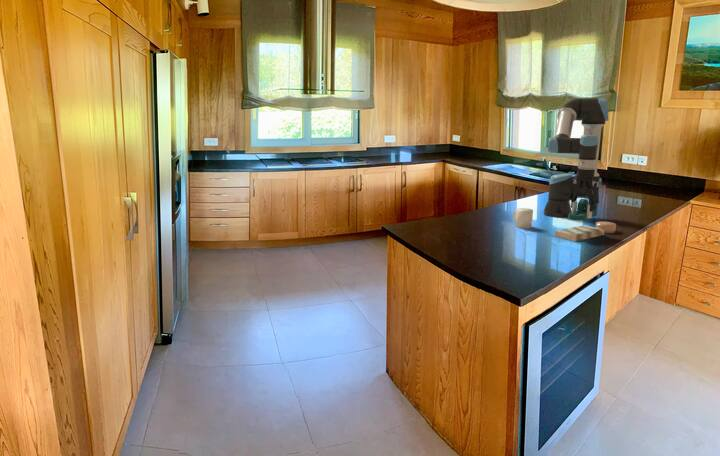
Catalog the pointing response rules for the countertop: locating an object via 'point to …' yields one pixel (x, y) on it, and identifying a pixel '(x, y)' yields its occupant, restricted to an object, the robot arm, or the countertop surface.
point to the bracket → (582, 211)
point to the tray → (579, 233)
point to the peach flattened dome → (606, 226)
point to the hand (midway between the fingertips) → (581, 216)
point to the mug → (523, 218)
